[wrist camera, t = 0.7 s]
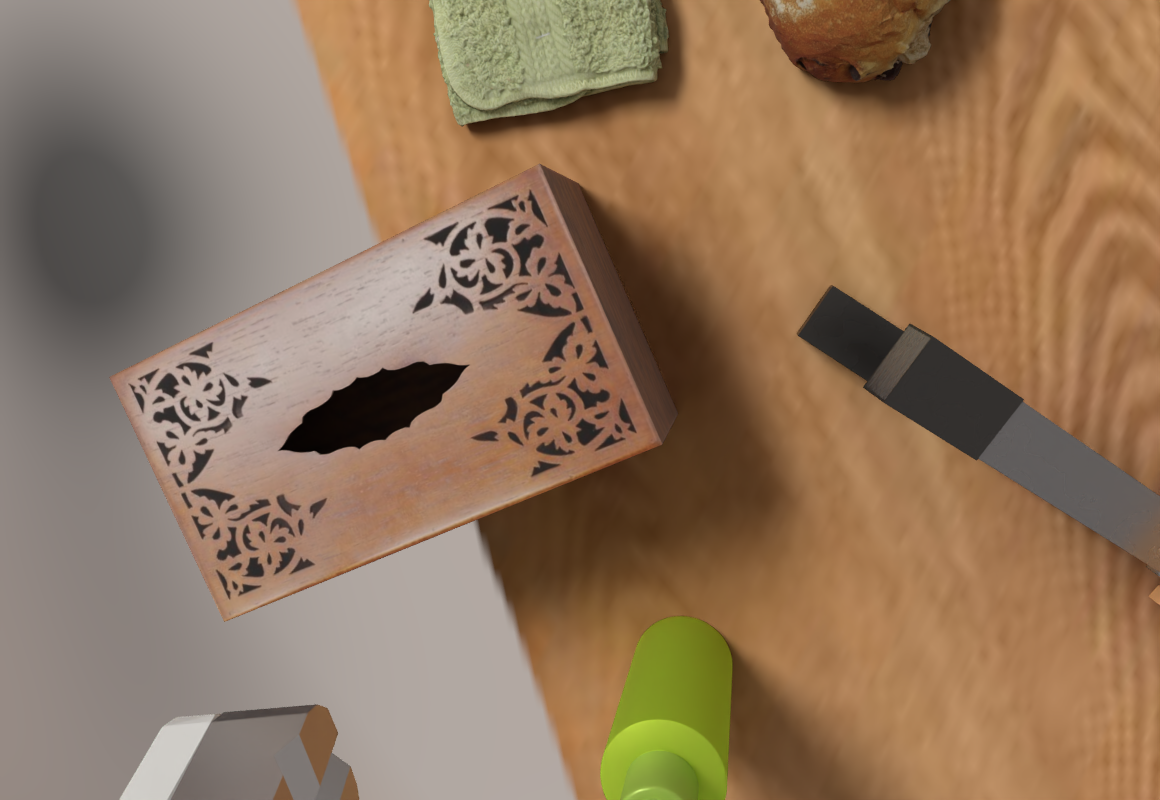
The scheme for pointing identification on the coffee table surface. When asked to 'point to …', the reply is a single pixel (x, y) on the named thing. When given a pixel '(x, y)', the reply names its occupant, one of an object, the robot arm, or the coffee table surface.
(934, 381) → the tongs upper arm
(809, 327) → the tongs lower arm
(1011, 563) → the coffee table surface
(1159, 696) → the coffee table surface
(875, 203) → the coffee table surface
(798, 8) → the bread roll
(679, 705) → the soap dispenser
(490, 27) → the washcloth
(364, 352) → the tissue box cover
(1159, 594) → the tan hook block
